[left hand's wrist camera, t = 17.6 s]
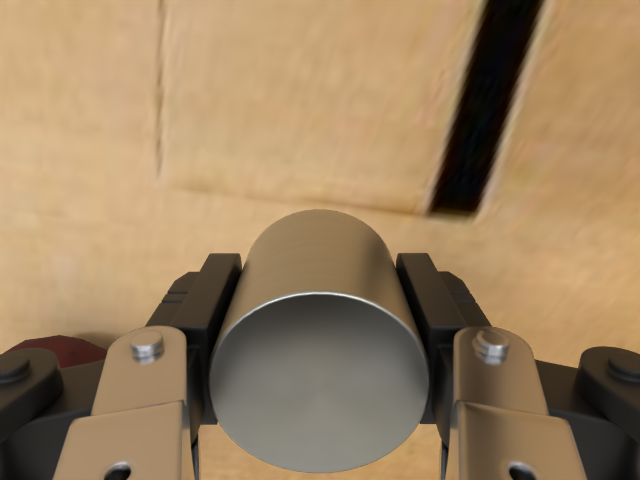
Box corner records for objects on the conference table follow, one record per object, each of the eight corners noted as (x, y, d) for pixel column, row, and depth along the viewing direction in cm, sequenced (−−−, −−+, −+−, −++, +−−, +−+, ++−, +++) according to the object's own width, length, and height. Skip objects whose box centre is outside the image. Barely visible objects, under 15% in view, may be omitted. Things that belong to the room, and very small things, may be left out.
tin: (418, 237, 12) (471, 332, 8) (361, 360, 13) (380, 495, 9) (270, 186, 11) (241, 259, 7) (227, 319, 13) (182, 444, 9)
